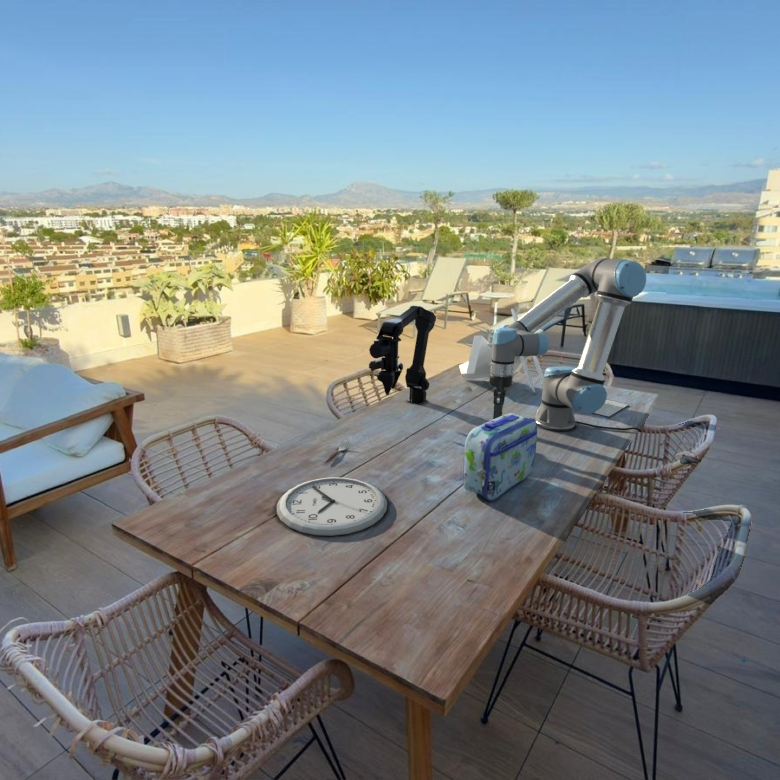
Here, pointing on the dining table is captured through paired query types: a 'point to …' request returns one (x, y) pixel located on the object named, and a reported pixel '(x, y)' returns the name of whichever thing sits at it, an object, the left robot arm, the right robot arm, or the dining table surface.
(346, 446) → the fork
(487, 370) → the white plastic object
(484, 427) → the lunch box
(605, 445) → the dining table surface
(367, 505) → the wall clock
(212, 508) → the dining table surface
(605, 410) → the invitation card
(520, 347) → the right robot arm
